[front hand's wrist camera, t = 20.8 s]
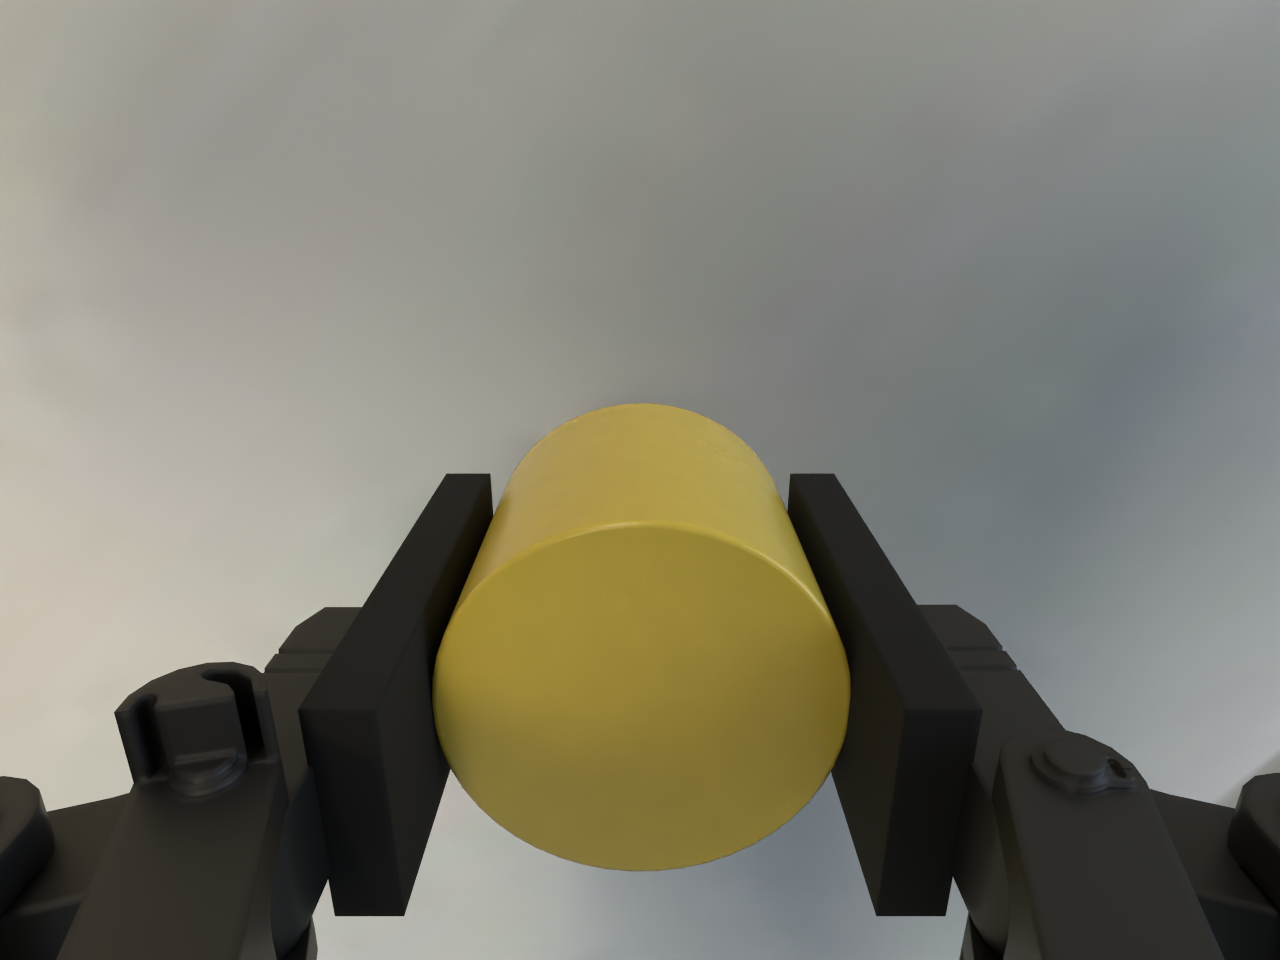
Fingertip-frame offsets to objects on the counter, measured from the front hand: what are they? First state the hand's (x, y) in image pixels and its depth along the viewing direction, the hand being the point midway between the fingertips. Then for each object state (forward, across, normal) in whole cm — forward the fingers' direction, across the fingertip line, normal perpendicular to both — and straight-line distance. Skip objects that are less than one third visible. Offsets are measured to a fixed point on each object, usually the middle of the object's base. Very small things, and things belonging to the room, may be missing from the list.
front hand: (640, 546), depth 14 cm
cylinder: (0, 0, 0) cm, 0 cm away
